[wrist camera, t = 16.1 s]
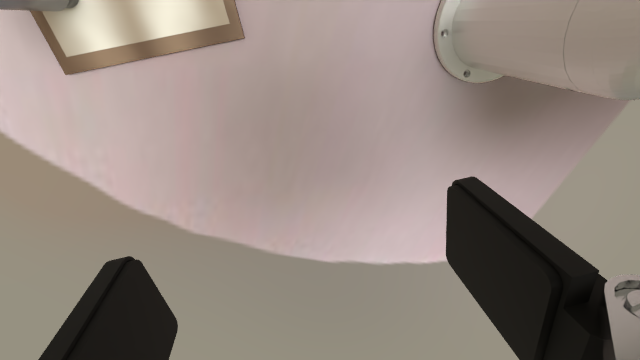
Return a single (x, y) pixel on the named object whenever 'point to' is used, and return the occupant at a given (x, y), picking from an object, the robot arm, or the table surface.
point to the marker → (37, 5)
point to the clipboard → (134, 30)
